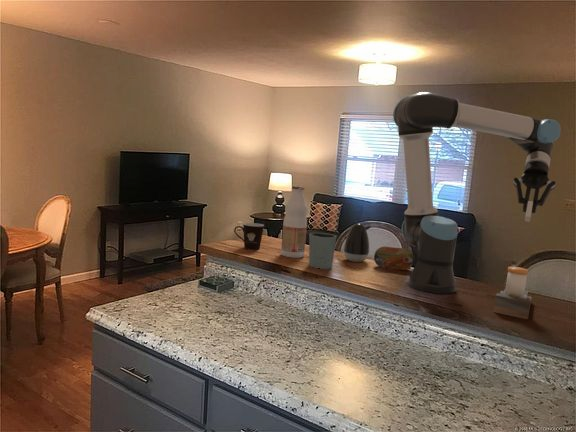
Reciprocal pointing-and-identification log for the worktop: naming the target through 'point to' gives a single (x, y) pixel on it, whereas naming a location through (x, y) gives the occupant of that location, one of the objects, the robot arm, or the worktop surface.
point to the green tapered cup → (321, 250)
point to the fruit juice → (295, 224)
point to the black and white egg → (357, 243)
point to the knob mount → (512, 304)
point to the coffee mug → (251, 235)
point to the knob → (516, 281)
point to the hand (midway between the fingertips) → (527, 218)
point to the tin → (394, 258)
